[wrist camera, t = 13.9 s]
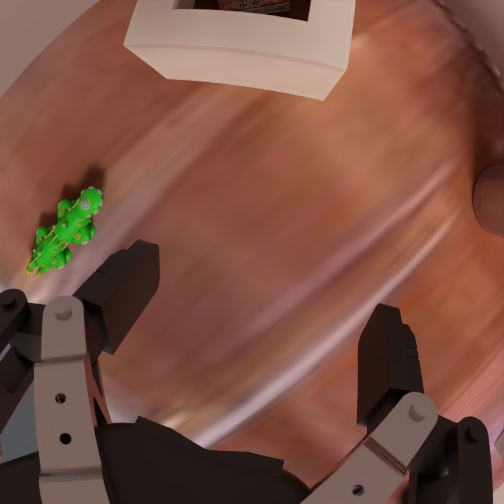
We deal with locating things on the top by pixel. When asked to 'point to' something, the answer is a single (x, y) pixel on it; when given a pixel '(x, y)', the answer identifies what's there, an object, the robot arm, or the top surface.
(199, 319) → the top surface
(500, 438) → the small box
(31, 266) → the green elongated figure
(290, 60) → the slot box
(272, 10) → the lighter
